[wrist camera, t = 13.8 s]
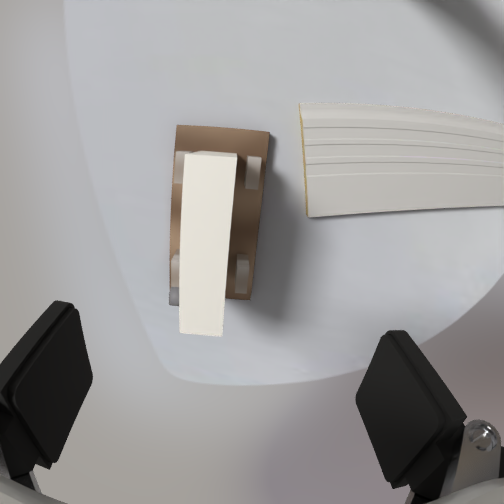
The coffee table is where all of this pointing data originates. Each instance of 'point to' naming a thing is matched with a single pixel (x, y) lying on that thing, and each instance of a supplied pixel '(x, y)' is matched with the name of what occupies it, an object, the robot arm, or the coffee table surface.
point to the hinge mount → (244, 200)
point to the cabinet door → (204, 241)
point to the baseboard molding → (398, 159)
